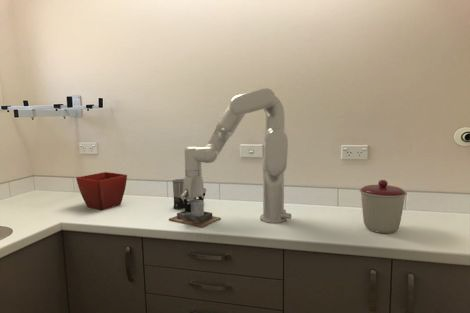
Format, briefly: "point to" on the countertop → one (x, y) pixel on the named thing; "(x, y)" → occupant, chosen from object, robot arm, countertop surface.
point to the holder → (195, 219)
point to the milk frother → (178, 193)
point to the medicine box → (196, 208)
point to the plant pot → (102, 189)
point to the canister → (382, 207)
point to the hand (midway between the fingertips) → (194, 209)
